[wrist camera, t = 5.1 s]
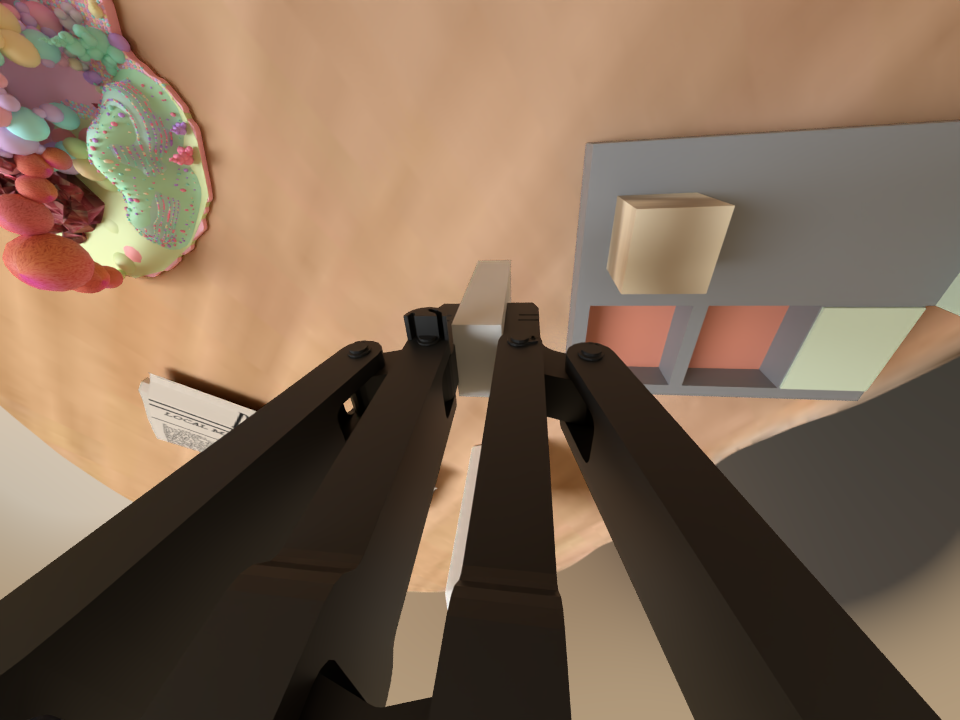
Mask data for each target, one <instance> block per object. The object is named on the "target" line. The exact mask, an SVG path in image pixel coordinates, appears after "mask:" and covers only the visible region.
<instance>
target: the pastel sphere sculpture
mask: <svg viewBox="0 0 960 720" xmlns="http://www.w3.org/2000/svg"><path fill="white" fill-rule="evenodd" d="M212 200H213V193H212V187H211V181H210V176H209V171H208V166H207V161H206V156H205V151H204V146H203V141H202V136H201V131H200V128H199V126H198V125H197V123H196V122H195V121H194V120H193V118H192V116H191V114H190V111H189V108H188V106H187V105H186V103H185V102H184V101H183V100H182V99H181V98H180V97H179V95H178V94H177V92H176V91H175V90H174V89H173V88H172V87H171V86H170V84H169V83H168V82H167V81H166V80H164V79H163V78H160V77H158V76H157V75H156V74H155V73H154V72H153V71H152V70H151V69H150V68H149V67H148V66H147V65H146V64H144V63H143V62H141V61H140V60H139V59H138V58H137V57H136V56H135V55H134V53H133V52H132V51H131V50H130V45H129V43H128V41H127V40H126V39H125V38H124V37H123V36H122V33H121V29H120V25H119V21H118V18H117V14H116V10H115V6H114V3H113V1H112V0H0V226H1V227H2V228H4V229H6V230H8V231H10V232H13V233H17V234H20V235H21V236H19V237H17V238H15V239H13V240H12V241H10V242H8V243H7V244H6V247H5V250H4V253H3V257H2V258H3V261H4V264H5V266H6V267H7V268H8V269H9V271H10V272H11V273H12V274H13V275H14V276H15V277H16V278H18V279H19V280H20V281H22V282H24V283H26V284H28V285H29V286H32V287H35V288H38V289H42V290H49V291H68V290H75V291H77V292H82V293H96V292H99V291H101V290H103V289H105V288H116V287H118V286H119V285H121V284H122V282H123V279H124V278H125V276H129V277H133V278H139V277H141V276H149V277H155V276H158V275H159V274H160V273H161V272H163V271H169V270H171V269H173V268H174V267H175V266H176V265H177V264H178V263H179V262H181V261H182V257H181V256H182V255H185V254H187V253H189V252H190V251H191V250H193V249H194V248H195V241H196V240H197V239H198V237H199V236H200V235H202V234H203V232H204V231H206V230H207V222H206V215H207V213H208V212H209V205H210V202H211V201H212Z"/></svg>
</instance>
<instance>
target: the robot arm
mask: <svg viewBox="0 0 960 720" xmlns="http://www.w3.org/2000/svg"><path fill="white" fill-rule="evenodd" d="M404 322H405V327H406V332H407V337H408V341H407V342H406V344H405V346H404V347H403V349H402V350H398V351H392V352H386V353H383V351H382V346H381V345H380V344H379V343H377V342H374V341H361V342H360V341H357V342H355V343H353V344H349V345H347V346H346V347H344V348H342V349H341V350H339V351H338V352H337V353H335V354H334V355H333V356H331V357H330V358H328V359H327V360H326V361H324V362H323V363H322V364H320V365H319V366H318V367H316V368H315V369H314V370H312V371H311V372H309V373H308V374H307V375H305V376H304V377H303V378H301V379H300V380H299V381H297V382H296V383H295V384H293V385H292V386H290V387H289V388H288V389H286V390H285V391H284V392H282V393H281V394H280V395H278V396H277V397H276V398H274V399H273V400H271V401H270V402H269V403H267V404H266V405H265V406H263V407H262V408H261V409H259V410H258V411H256V412H255V413H254V414H252V415H251V416H250V417H248V418H247V419H246V420H244V421H243V422H242V423H240V424H239V425H237V426H236V427H235V428H233V429H232V430H231V431H229V432H228V433H227V434H225V435H224V436H223V437H221V438H220V439H218V440H217V441H216V442H214V443H213V444H212V445H210V446H209V447H208V448H206V449H205V450H204V451H202V452H201V453H199V454H198V455H197V456H195V457H194V458H193V459H191V460H190V461H189V462H187V463H186V464H185V465H183V466H182V467H180V468H179V469H178V470H176V471H175V472H174V473H172V474H171V475H170V476H168V477H167V478H165V479H164V480H163V481H161V482H160V483H159V484H157V485H156V486H155V487H153V488H152V489H151V490H149V491H148V492H146V493H145V494H144V495H142V496H141V497H140V498H138V499H137V500H136V501H134V502H133V503H132V504H130V505H129V506H127V507H126V508H125V509H123V510H122V511H121V512H119V513H118V514H117V515H115V516H114V517H113V518H111V519H110V520H108V521H107V522H106V523H104V524H103V525H102V526H100V527H99V528H98V529H96V530H95V531H94V532H92V533H91V534H90V535H88V536H87V537H85V538H84V539H83V540H81V541H80V542H79V543H77V544H76V545H75V546H73V547H72V548H70V549H69V550H68V551H66V552H65V553H64V554H62V555H61V556H60V557H58V558H57V559H56V560H54V561H53V562H51V563H50V564H49V565H47V566H46V567H45V568H43V569H42V570H41V571H39V572H38V573H36V574H35V575H34V576H32V577H31V578H30V579H28V580H27V581H26V582H25V583H23V584H22V585H20V586H19V587H18V588H16V589H15V590H13V591H12V592H11V593H9V594H8V595H7V596H5V597H4V598H3V599H1V600H0V720H571V708H570V694H569V680H568V666H567V652H566V639H565V626H564V616H563V606H562V600H561V596H560V594H559V591H558V585H557V574H556V558H555V542H554V526H553V510H552V493H551V477H550V461H549V445H548V429H547V417H551V418H554V419H558V420H560V426H561V429H562V431H563V433H564V435H565V438H566V440H567V442H568V444H569V446H570V448H571V451H572V453H573V455H574V457H575V459H576V462H577V464H578V466H579V468H580V470H581V472H582V475H583V477H584V479H585V481H586V483H587V486H588V488H589V490H590V492H591V494H592V496H593V499H594V501H595V503H596V505H597V507H598V510H599V512H600V514H601V516H602V518H603V521H604V523H605V525H606V527H607V529H608V531H609V534H610V536H611V538H612V540H613V542H614V545H615V547H616V549H617V551H618V553H619V555H620V558H621V560H622V562H623V564H624V566H625V569H626V571H627V573H628V575H629V577H630V580H631V582H632V584H633V586H634V588H635V590H636V593H637V595H638V597H639V599H640V601H641V603H642V606H643V608H644V610H645V612H646V614H647V617H648V619H649V621H650V623H651V625H652V627H653V630H654V632H655V634H656V636H657V638H658V640H659V643H660V645H661V647H662V649H663V652H664V654H665V656H666V658H667V660H668V663H669V665H670V667H671V669H672V671H673V673H674V675H675V678H676V680H677V682H678V684H679V686H680V689H681V691H682V693H683V695H684V697H685V700H686V702H687V704H688V706H689V708H690V711H691V713H692V715H693V717H694V719H695V720H941V719H940V717H939V716H938V715H937V714H936V713H935V712H934V711H933V710H932V708H931V707H930V706H929V705H928V704H927V703H926V702H925V701H924V700H923V698H922V697H921V696H920V695H919V694H918V693H917V692H916V690H915V689H914V688H913V687H912V686H911V685H910V684H909V683H908V681H907V680H906V679H905V678H904V677H903V676H902V675H901V674H900V672H899V671H898V670H897V669H896V668H895V667H894V666H893V665H892V663H891V662H890V661H889V660H888V659H887V658H886V657H885V656H884V654H883V653H881V651H880V650H879V649H878V648H877V647H876V645H875V644H874V643H873V642H872V641H871V640H870V639H869V638H868V637H867V635H866V634H865V633H864V632H863V631H862V630H861V629H860V627H859V626H858V625H857V624H856V623H855V622H854V621H853V620H852V618H851V617H850V616H849V615H848V614H847V613H846V612H845V611H844V610H843V609H842V607H841V606H840V605H839V604H838V603H837V602H836V601H835V599H834V598H833V597H832V596H831V595H830V594H829V593H828V592H827V591H826V589H825V588H824V587H823V586H822V585H821V584H820V583H819V581H818V580H817V579H816V578H815V577H814V576H813V575H812V574H811V573H810V571H809V570H808V569H807V568H806V567H805V566H804V565H803V563H802V562H801V561H800V560H799V559H798V558H797V557H796V556H795V555H794V553H793V552H792V551H791V550H790V549H789V548H788V547H787V545H786V544H785V543H784V542H783V541H782V540H781V539H780V538H779V537H778V535H777V534H776V533H775V532H774V531H773V530H772V529H771V527H769V525H768V524H767V523H766V522H765V521H764V520H763V518H762V517H761V516H760V515H759V514H758V513H757V512H756V511H755V509H754V508H753V507H752V506H751V505H750V504H749V503H748V502H747V500H746V499H745V498H744V497H743V496H742V495H741V494H740V493H739V492H738V490H737V489H736V488H735V487H734V486H733V485H732V484H731V483H730V481H729V480H728V479H727V478H726V477H725V476H724V475H723V473H722V472H721V471H720V470H719V469H718V468H717V467H716V466H715V464H714V463H713V462H712V461H711V460H710V459H709V458H708V457H707V455H706V454H705V453H704V452H703V451H702V450H701V449H700V448H699V446H698V445H697V444H696V443H695V442H694V441H693V440H692V439H691V438H690V436H689V435H688V434H687V433H686V432H685V431H684V430H683V429H682V427H681V426H680V425H679V424H678V423H677V422H676V421H675V420H674V418H673V417H672V416H671V415H670V414H669V413H668V412H667V411H666V409H665V408H664V407H663V406H662V405H661V404H660V403H659V402H658V400H657V399H656V398H655V397H654V396H653V395H652V394H651V393H650V391H649V390H648V389H647V388H646V387H645V386H644V385H643V384H642V382H641V381H640V380H639V379H638V378H637V377H636V376H635V375H634V373H633V372H632V371H631V370H630V369H629V368H628V367H627V366H626V364H625V363H624V362H623V361H622V360H621V359H620V358H619V357H618V355H617V354H616V353H615V352H614V351H613V350H611V349H610V348H609V347H607V346H604V345H602V344H599V343H594V342H581V343H577V344H574V345H572V346H570V347H569V348H568V350H567V351H566V353H561V352H557V351H553V350H551V349H549V348H547V347H545V346H544V345H543V344H542V340H541V338H540V326H539V309H538V307H537V306H536V305H535V304H534V303H511V260H491V261H478V263H477V265H476V268H475V270H474V272H473V275H472V277H471V279H470V282H469V284H468V287H467V289H466V291H465V294H464V296H463V298H462V301H461V303H460V304H443V305H442V306H440V307H439V308H433V307H426V308H419V309H415V310H412V311H410V312H408V313H406V314H405V315H404ZM457 386H458V389H459V396H470V397H489V401H488V408H487V414H486V420H485V427H484V433H483V439H482V446H481V452H480V458H479V464H478V471H477V477H476V483H475V490H474V496H473V502H472V509H471V515H470V521H469V527H468V534H467V540H466V546H465V553H464V559H463V565H462V570H461V575H460V578H459V580H458V582H457V583H456V584H455V585H454V588H453V591H452V594H451V597H450V602H449V607H448V611H447V616H446V622H445V628H444V633H443V639H442V645H441V651H440V656H439V662H438V668H437V673H436V679H435V685H434V690H433V696H432V697H430V698H425V699H421V700H416V701H411V702H406V703H402V704H397V705H392V706H387V707H385V705H386V701H387V697H388V692H389V688H390V682H391V676H392V668H393V646H394V639H395V634H396V629H397V626H398V622H399V618H400V615H401V611H402V607H403V603H404V600H405V596H406V592H407V589H408V585H409V581H410V577H411V574H412V570H413V566H414V563H415V559H416V555H417V551H418V548H419V544H420V540H421V537H422V533H423V529H424V525H425V522H426V518H427V514H428V510H429V507H430V503H431V499H432V496H433V492H434V488H435V484H436V481H437V477H438V473H439V469H440V466H441V462H442V458H443V455H444V451H445V447H446V443H447V440H448V436H449V432H450V428H451V425H452V421H453V417H454V414H455V410H456V406H457V403H456V389H457ZM349 398H351V401H352V404H353V407H354V408H353V409H352V410H351V411H349V412H346V410H345V407H344V405H343V403H344V402H345V401H347V400H348V399H349Z"/></svg>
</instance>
